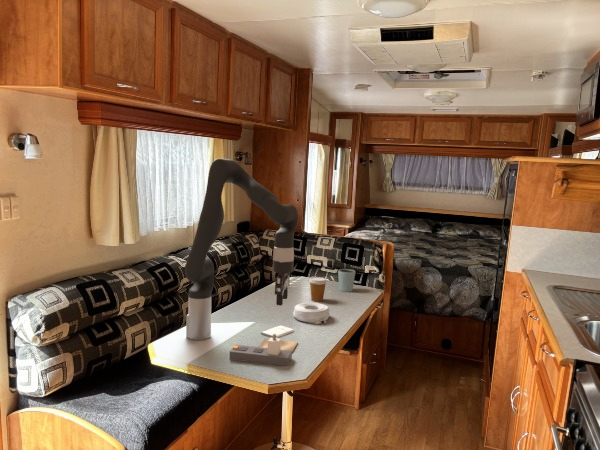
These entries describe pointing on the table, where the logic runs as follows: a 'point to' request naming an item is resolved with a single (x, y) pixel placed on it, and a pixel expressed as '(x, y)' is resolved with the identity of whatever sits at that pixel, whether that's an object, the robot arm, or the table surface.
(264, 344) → the cork mat
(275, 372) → the table surface
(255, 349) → the power strip
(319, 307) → the cable
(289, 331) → the external hard drive
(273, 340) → the charger
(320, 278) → the disposable coffee cup
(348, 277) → the pale teal cup
